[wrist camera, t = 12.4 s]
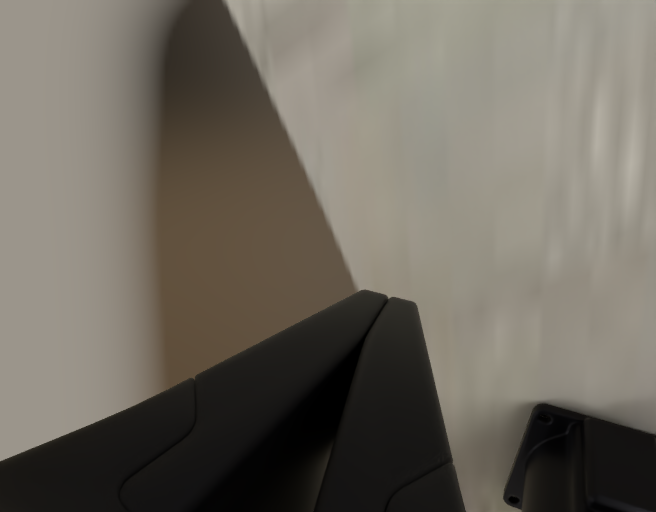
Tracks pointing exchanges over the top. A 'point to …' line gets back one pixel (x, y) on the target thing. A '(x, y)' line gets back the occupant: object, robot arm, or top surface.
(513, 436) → the top surface
